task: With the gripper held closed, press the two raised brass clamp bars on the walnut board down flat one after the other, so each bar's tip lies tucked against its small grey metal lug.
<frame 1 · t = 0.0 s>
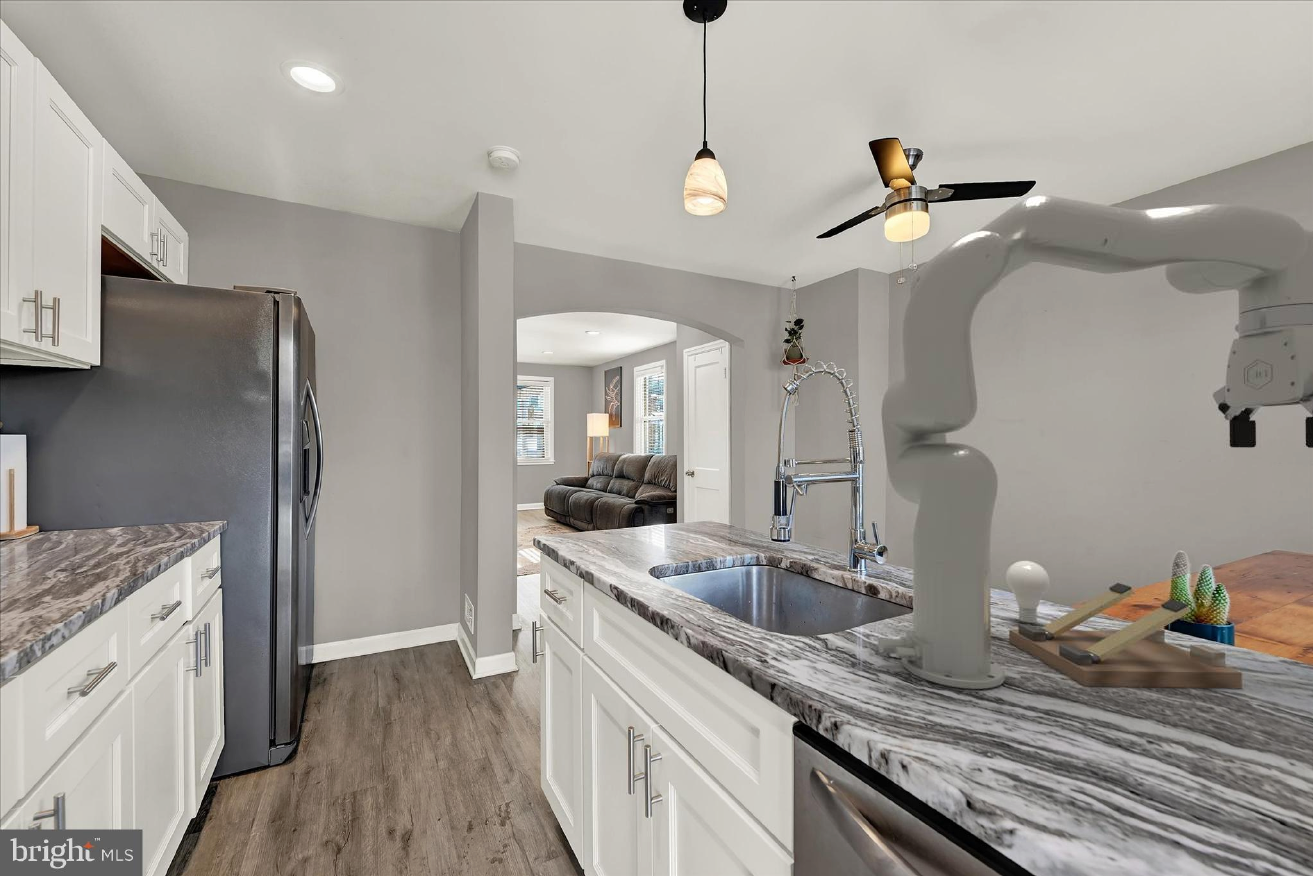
hand: (1279, 447, 76), 31 cm above the worktop, tool pointing down, fingers open, 9 cm apart
lightbulb: (1027, 624, 97), on the worktop
back bar: (1083, 611, 84), point 6 cm above the worktop, hinge at 30.0°
front bar: (1133, 631, 75), point 6 cm above the worktop, hinge at 30.0°
board: (1113, 662, 80), on the worktop
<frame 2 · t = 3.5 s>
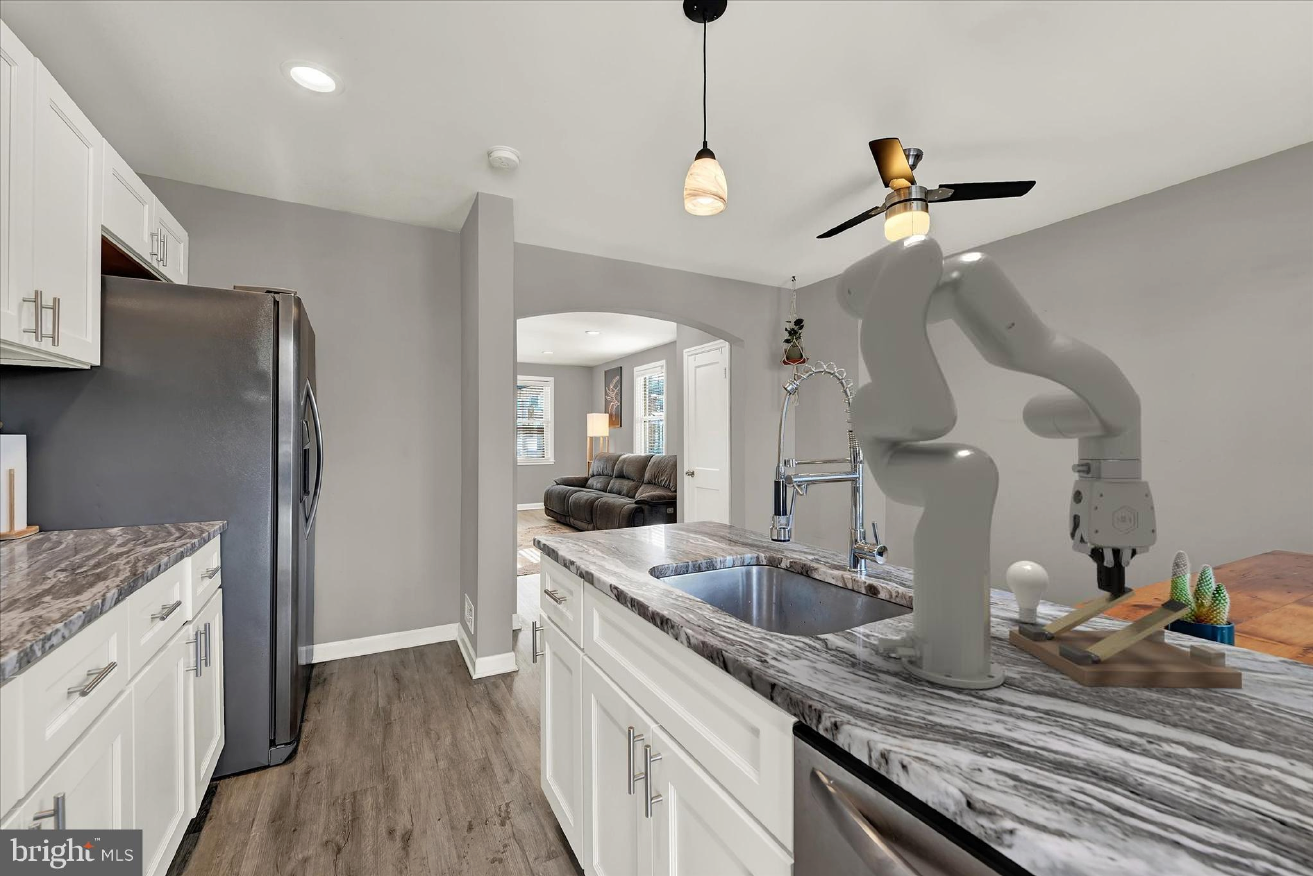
hand: (1111, 591, 84), 9 cm above the worktop, tool pointing down, fingers closed
back bar: (1084, 612, 84), point 6 cm above the worktop, hinge at 28.6°, touching gripper
everything else where it was.
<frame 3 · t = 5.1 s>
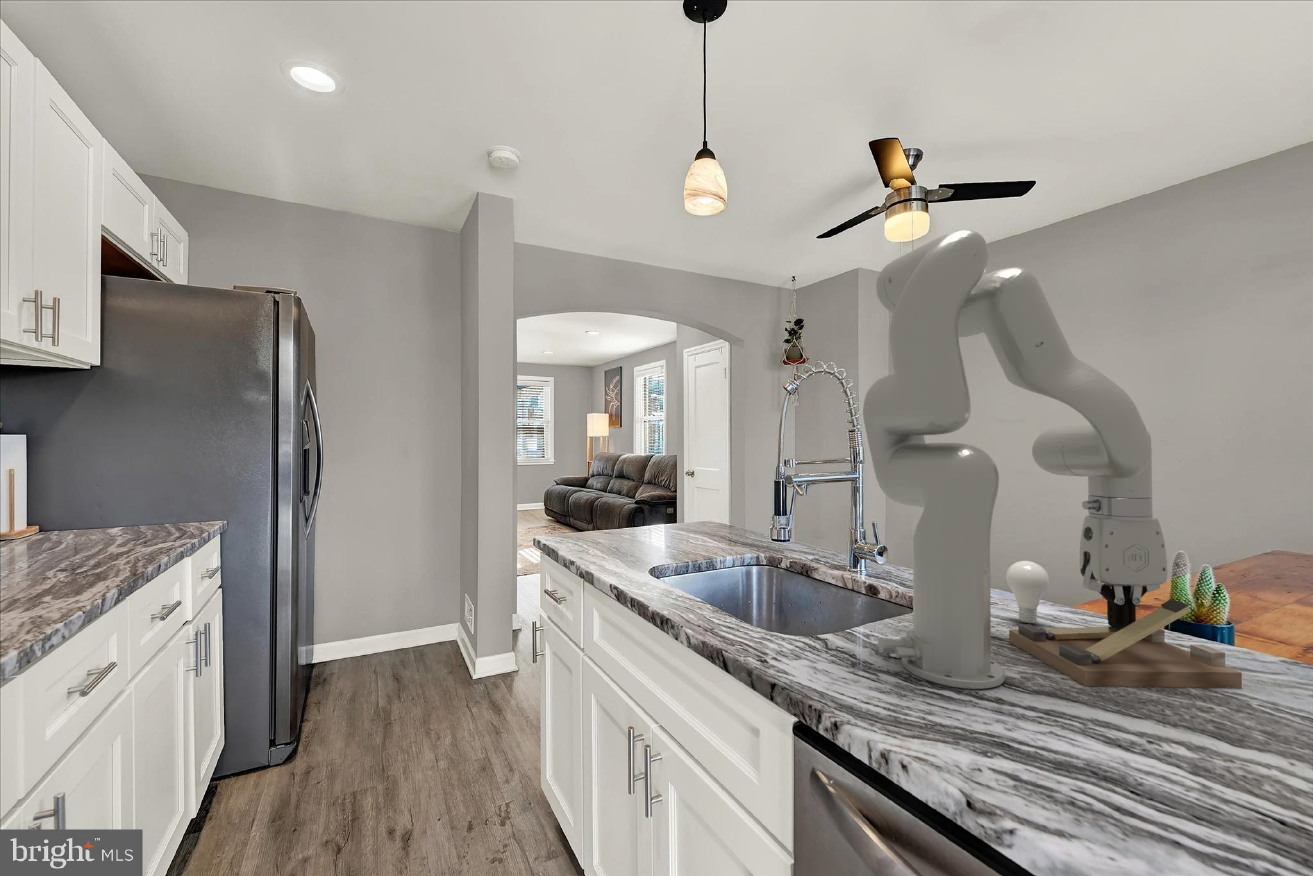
hand: (1121, 628, 84), 4 cm above the worktop, tool pointing down, fingers closed
back bar: (1091, 631, 84), point 3 cm above the worktop, hinge at 2.8°, touching gripper
everything else where it was.
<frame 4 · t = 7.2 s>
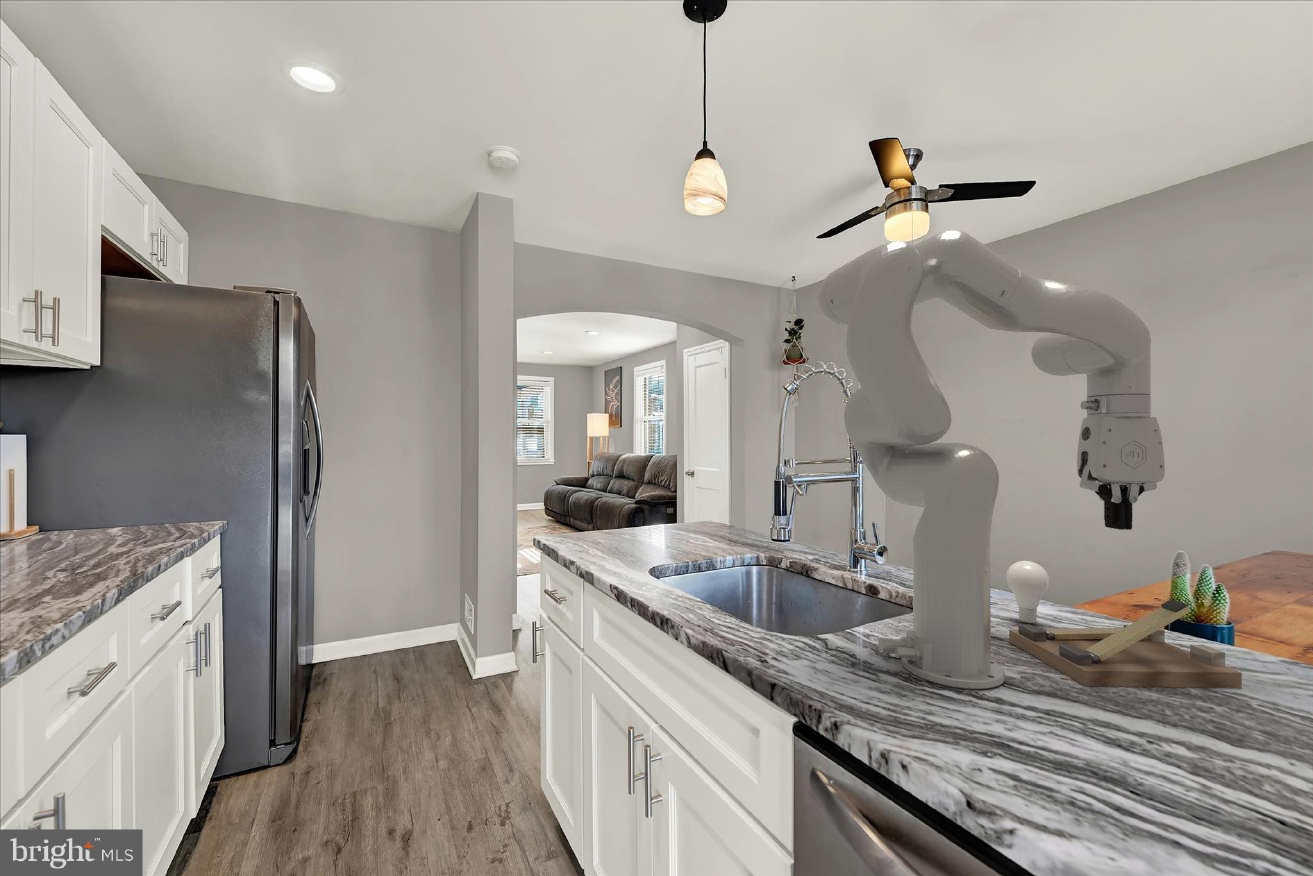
hand: (1118, 528, 84), 19 cm above the worktop, tool pointing down, fingers closed
back bar: (1091, 632, 84), point 3 cm above the worktop, hinge at 1.8°
everything else where it was.
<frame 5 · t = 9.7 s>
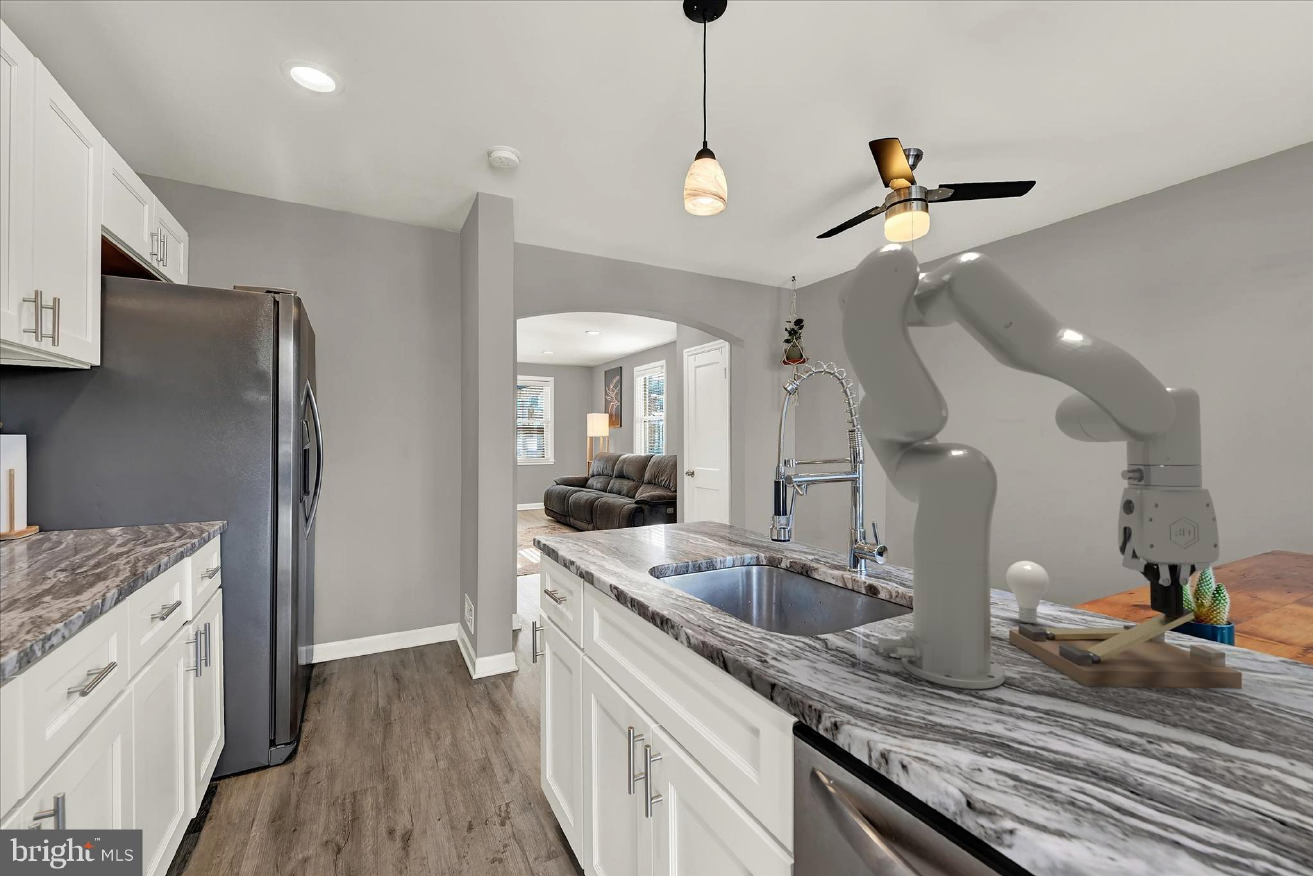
hand: (1166, 612, 75), 9 cm above the worktop, tool pointing down, fingers closed
front bar: (1135, 634, 75), point 6 cm above the worktop, hinge at 25.9°, touching gripper
everything else where it was.
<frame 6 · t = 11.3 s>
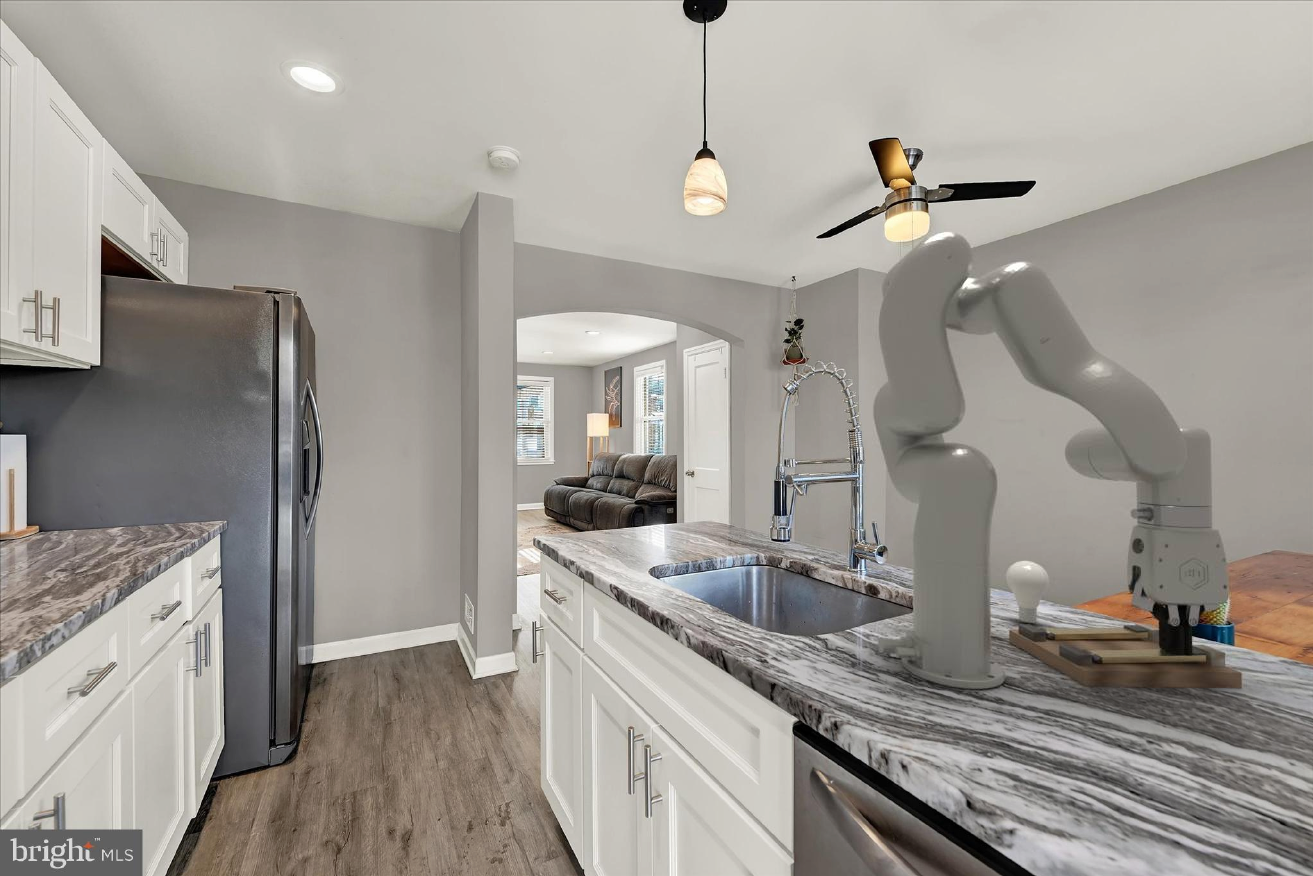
hand: (1175, 652, 75), 3 cm above the worktop, tool pointing down, fingers closed
front bar: (1142, 654, 75), point 3 cm above the worktop, hinge at 1.7°, touching gripper
everything else where it was.
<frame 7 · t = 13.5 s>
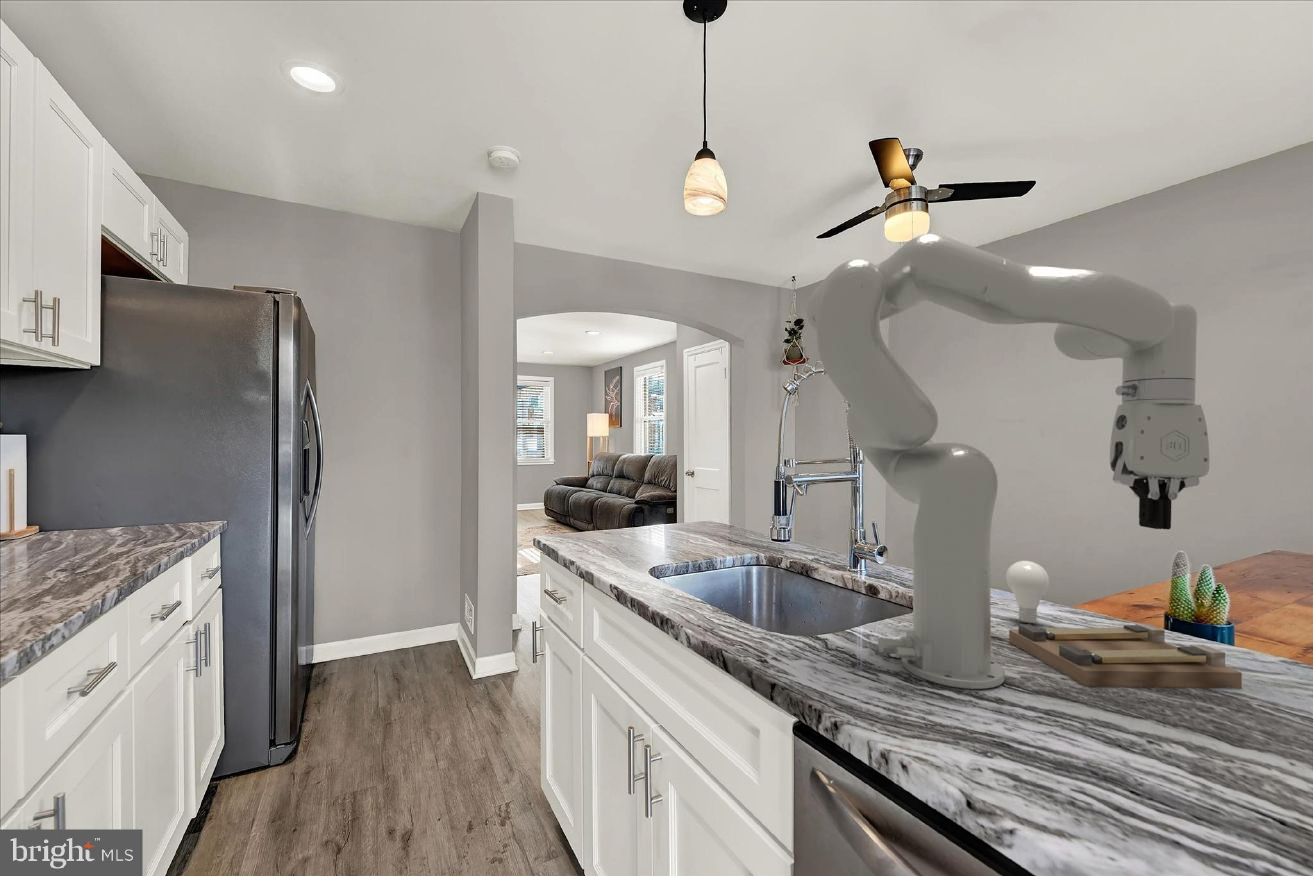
hand: (1154, 527, 76), 20 cm above the worktop, tool pointing down, fingers closed
front bar: (1142, 655, 75), point 3 cm above the worktop, hinge at 1.6°
everything else where it was.
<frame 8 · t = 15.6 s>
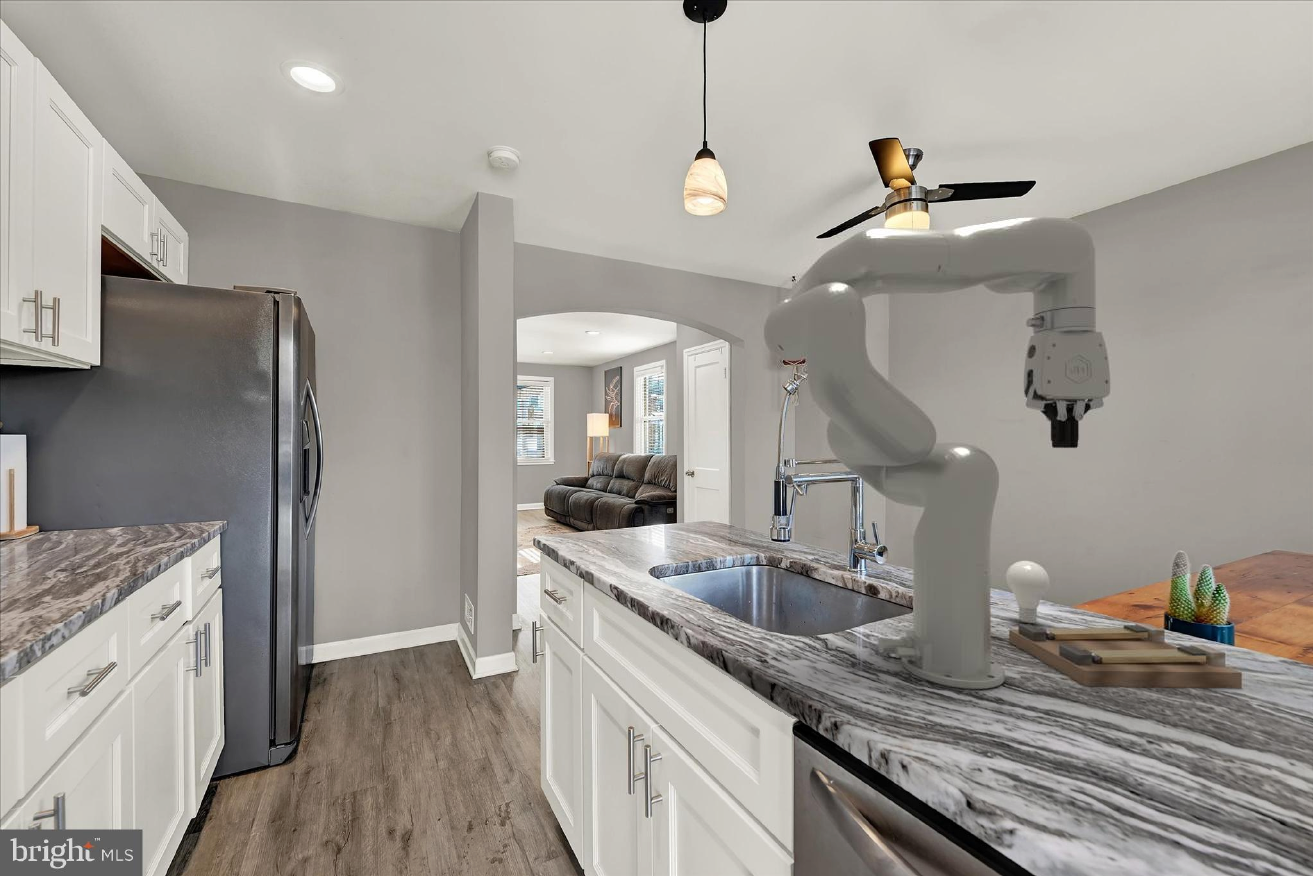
hand: (1064, 447, 83), 31 cm above the worktop, tool pointing down, fingers closed
nothing on the worktop moved.
at the end: back bar at +2° (first picture: +30°); front bar at +2° (first picture: +30°) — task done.
